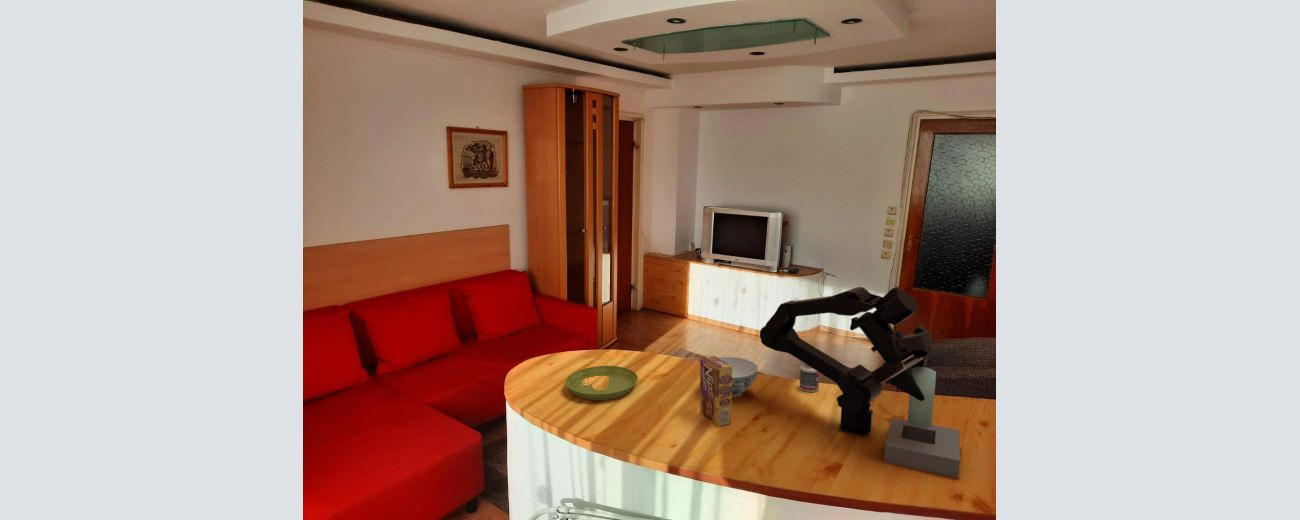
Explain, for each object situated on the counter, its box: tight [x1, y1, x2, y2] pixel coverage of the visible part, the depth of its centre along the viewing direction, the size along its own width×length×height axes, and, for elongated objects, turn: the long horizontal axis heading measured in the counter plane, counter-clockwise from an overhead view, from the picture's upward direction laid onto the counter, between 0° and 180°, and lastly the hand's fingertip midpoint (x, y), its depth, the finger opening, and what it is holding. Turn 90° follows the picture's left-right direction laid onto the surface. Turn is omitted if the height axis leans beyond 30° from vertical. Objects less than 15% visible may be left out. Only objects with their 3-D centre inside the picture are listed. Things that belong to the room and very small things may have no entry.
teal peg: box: [907, 367, 937, 428], centre depth 123 cm, size 5×5×12 cm
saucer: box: [565, 365, 639, 401], centre depth 161 cm, size 21×21×3 cm
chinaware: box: [717, 356, 759, 399], centre depth 156 cm, size 15×15×8 cm
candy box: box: [699, 354, 733, 427], centre depth 141 cm, size 9×4×15 cm, turn 26°
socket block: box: [883, 417, 961, 479], centre depth 123 cm, size 14×14×4 cm
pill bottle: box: [798, 362, 820, 393], centre depth 158 cm, size 5×5×9 cm
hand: (928, 396), depth 122 cm, fingers closed on teal peg, 5 cm apart
